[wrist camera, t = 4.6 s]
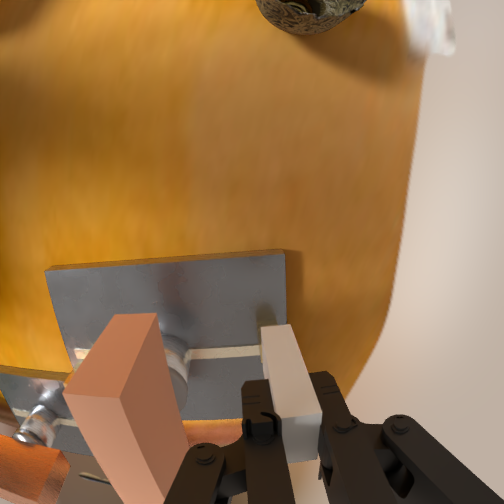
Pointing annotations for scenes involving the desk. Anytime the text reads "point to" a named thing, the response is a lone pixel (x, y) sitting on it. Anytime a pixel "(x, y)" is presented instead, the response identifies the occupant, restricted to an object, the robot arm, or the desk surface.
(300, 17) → the cup
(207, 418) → the base
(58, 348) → the desk surface
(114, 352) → the salmon orange brick
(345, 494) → the robot arm
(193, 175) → the desk surface
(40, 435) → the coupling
